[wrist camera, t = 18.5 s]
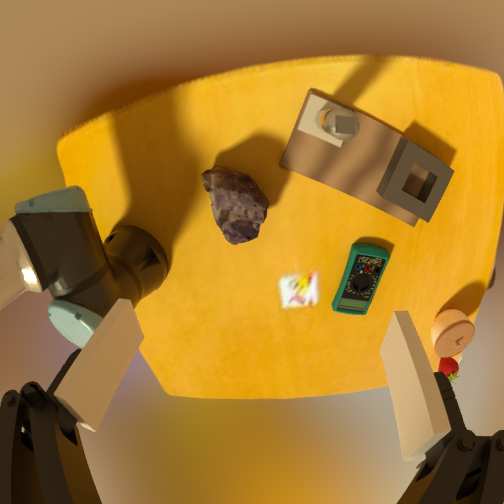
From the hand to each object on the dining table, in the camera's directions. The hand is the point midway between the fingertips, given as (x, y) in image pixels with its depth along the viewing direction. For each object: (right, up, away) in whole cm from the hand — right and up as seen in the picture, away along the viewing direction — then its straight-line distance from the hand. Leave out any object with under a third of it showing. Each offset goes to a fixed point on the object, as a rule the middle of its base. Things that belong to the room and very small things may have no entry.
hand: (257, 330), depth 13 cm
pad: (+11, +23, +24) cm, 35 cm away
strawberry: (+52, -25, +45) cm, 73 cm away
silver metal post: (+11, +23, +24) cm, 35 cm away
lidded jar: (+45, -12, +39) cm, 61 cm away
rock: (-2, +13, +33) cm, 35 cm away
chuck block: (+26, +16, +26) cm, 40 cm away
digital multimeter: (+20, -1, +38) cm, 43 cm away
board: (+18, +18, +27) cm, 37 cm away
